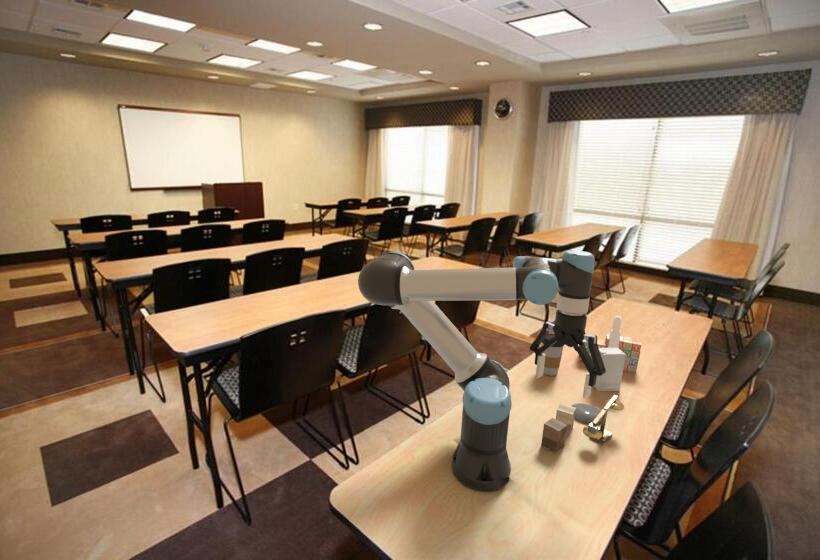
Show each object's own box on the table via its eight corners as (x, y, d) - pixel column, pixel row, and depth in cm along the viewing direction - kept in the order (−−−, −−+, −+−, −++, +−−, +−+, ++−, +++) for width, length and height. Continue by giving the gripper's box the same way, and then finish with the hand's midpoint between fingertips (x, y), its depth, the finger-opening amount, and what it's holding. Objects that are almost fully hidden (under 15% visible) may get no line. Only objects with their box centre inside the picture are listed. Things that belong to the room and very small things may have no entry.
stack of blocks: (577, 362, 167) (581, 334, 164) (578, 356, 173) (582, 329, 170) (636, 373, 159) (641, 344, 156) (635, 367, 164) (640, 339, 161)
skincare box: (611, 383, 151) (618, 346, 147) (620, 392, 145) (627, 353, 141) (589, 383, 151) (595, 346, 147) (597, 392, 145) (603, 353, 141)
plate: (595, 428, 123) (595, 424, 123) (564, 413, 130) (564, 410, 130) (609, 416, 130) (609, 413, 129) (578, 403, 137) (579, 400, 136)
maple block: (569, 435, 119) (572, 414, 117) (554, 430, 122) (556, 409, 120) (572, 428, 123) (576, 407, 121) (557, 423, 125) (560, 402, 123)
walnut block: (555, 453, 111) (559, 431, 109) (541, 445, 114) (544, 423, 113) (564, 446, 114) (567, 425, 112) (549, 439, 117) (552, 417, 116)
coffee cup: (561, 379, 153) (566, 342, 149) (538, 376, 154) (543, 340, 151) (558, 369, 161) (563, 334, 157) (536, 367, 162) (540, 332, 159)
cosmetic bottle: (599, 364, 167) (607, 313, 162) (614, 365, 166) (623, 314, 161) (604, 370, 161) (612, 318, 156) (620, 372, 160) (629, 319, 155)
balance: (595, 454, 111) (601, 418, 108) (577, 445, 115) (583, 410, 112) (622, 428, 123) (628, 396, 120) (605, 421, 127) (611, 389, 124)
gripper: (628, 321, 98) (615, 400, 103) (536, 297, 116) (529, 365, 121) (615, 328, 93) (602, 410, 98) (521, 302, 111) (514, 372, 116)
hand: (561, 385), depth 110 cm, fingers open, 13 cm apart
